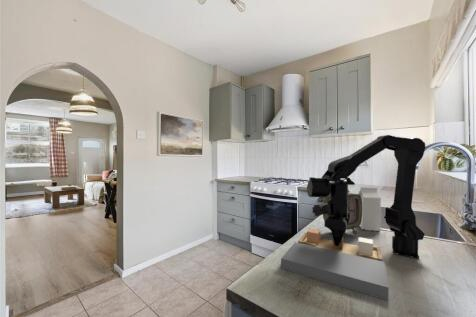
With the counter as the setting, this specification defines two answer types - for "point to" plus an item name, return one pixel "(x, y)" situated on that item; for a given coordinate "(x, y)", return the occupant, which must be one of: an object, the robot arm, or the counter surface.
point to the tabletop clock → (351, 210)
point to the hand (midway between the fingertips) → (338, 242)
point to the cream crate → (365, 246)
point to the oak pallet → (345, 249)
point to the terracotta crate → (313, 236)
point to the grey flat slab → (338, 269)
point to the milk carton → (370, 208)
